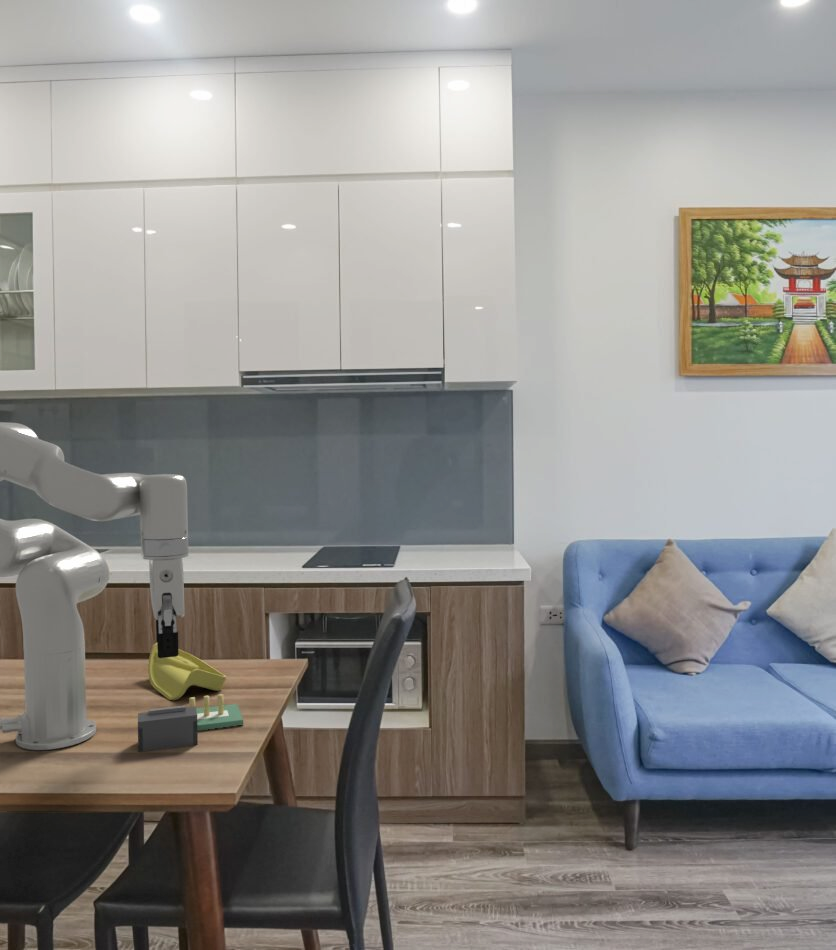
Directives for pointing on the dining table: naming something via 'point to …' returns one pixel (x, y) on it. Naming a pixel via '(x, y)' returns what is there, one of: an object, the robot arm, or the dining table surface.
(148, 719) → the plug
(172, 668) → the plastic component
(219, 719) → the header
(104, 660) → the dining table surface
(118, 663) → the dining table surface
